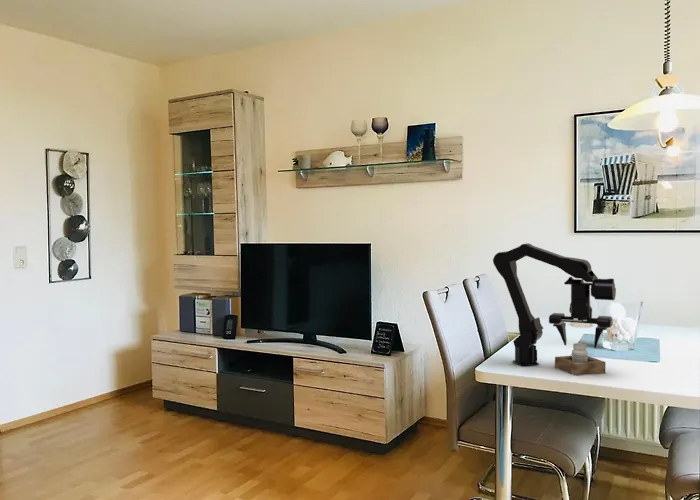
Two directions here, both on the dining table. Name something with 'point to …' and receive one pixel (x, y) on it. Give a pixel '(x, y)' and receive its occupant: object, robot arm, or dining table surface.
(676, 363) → the dining table surface
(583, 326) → the base with upright slab
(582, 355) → the pill bottle
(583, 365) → the socket block
